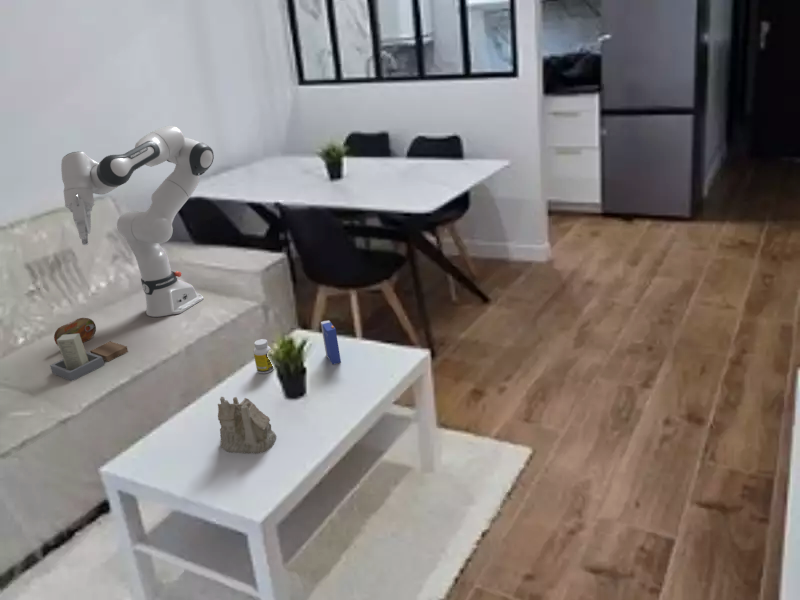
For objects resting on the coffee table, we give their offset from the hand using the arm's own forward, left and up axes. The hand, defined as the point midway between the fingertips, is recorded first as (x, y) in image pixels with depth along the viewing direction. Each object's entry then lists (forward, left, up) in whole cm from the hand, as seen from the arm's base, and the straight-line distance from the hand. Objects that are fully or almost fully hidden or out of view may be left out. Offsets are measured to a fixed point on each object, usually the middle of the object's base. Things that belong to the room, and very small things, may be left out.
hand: (84, 241), depth 243 cm
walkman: (-28, +77, -40) cm, 91 cm away
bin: (+15, +1, -40) cm, 43 cm away
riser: (+3, +1, -40) cm, 40 cm away
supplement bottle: (-13, +62, -40) cm, 75 cm away
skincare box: (+15, +1, -40) cm, 43 cm away
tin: (+3, -19, -40) cm, 45 cm away
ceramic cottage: (+15, +86, -40) cm, 96 cm away
